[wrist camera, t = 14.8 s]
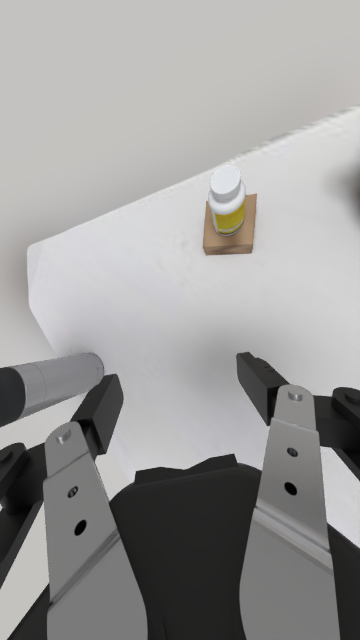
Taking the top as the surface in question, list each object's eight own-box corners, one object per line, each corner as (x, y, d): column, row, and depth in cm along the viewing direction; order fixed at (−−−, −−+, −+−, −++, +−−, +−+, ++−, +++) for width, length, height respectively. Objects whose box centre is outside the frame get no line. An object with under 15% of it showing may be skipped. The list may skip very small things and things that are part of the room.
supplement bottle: (250, 221, 31) (256, 176, 22) (225, 242, 32) (220, 208, 23) (232, 201, 32) (229, 150, 23) (208, 222, 33) (196, 182, 24)
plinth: (206, 255, 37) (202, 247, 33) (209, 214, 37) (206, 201, 34) (251, 253, 34) (253, 243, 31) (254, 208, 35) (256, 193, 31)
